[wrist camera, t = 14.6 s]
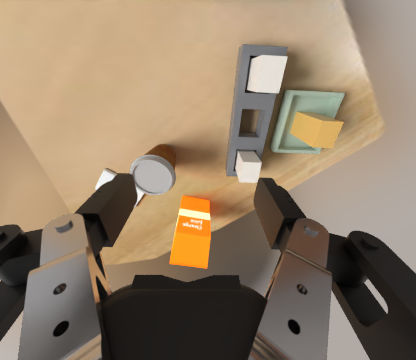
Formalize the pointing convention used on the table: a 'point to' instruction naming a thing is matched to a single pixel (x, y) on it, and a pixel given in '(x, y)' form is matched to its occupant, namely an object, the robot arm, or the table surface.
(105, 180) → the external hard drive
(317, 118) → the tan rectangular block
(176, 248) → the orange juice
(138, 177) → the disposable coffee cup
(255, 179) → the fuse
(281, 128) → the tray
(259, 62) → the fuse
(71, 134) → the table surface
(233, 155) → the rack
